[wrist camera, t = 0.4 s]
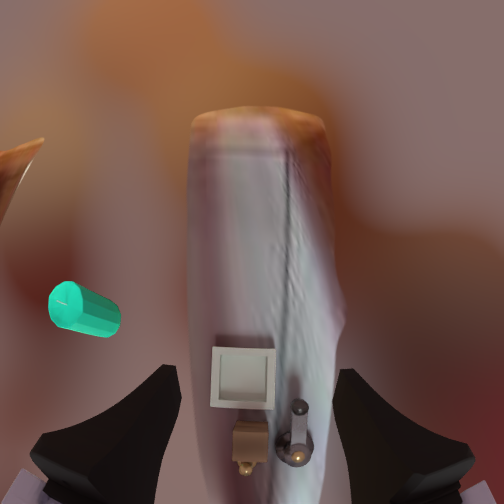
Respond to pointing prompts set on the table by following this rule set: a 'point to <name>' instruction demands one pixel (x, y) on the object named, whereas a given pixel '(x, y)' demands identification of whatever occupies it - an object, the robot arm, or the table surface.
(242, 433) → the block
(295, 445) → the crank
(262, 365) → the tray
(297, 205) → the table surface
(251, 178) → the table surface
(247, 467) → the crank base
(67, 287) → the candle
